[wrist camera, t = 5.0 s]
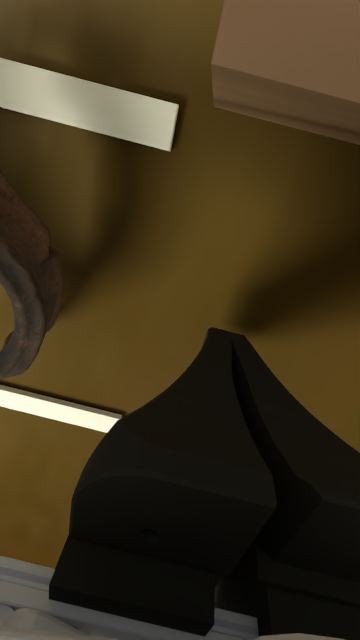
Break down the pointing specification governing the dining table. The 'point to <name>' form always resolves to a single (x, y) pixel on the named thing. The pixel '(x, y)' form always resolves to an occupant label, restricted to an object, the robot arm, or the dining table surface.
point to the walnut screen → (291, 64)
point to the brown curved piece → (26, 280)
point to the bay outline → (98, 116)
